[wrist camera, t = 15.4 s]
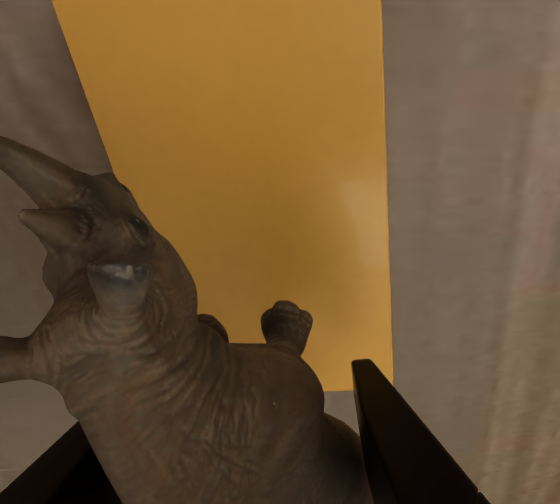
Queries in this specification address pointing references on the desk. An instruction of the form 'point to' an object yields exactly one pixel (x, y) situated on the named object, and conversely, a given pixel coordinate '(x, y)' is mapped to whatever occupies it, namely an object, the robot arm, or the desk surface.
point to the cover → (254, 155)
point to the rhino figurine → (169, 361)
